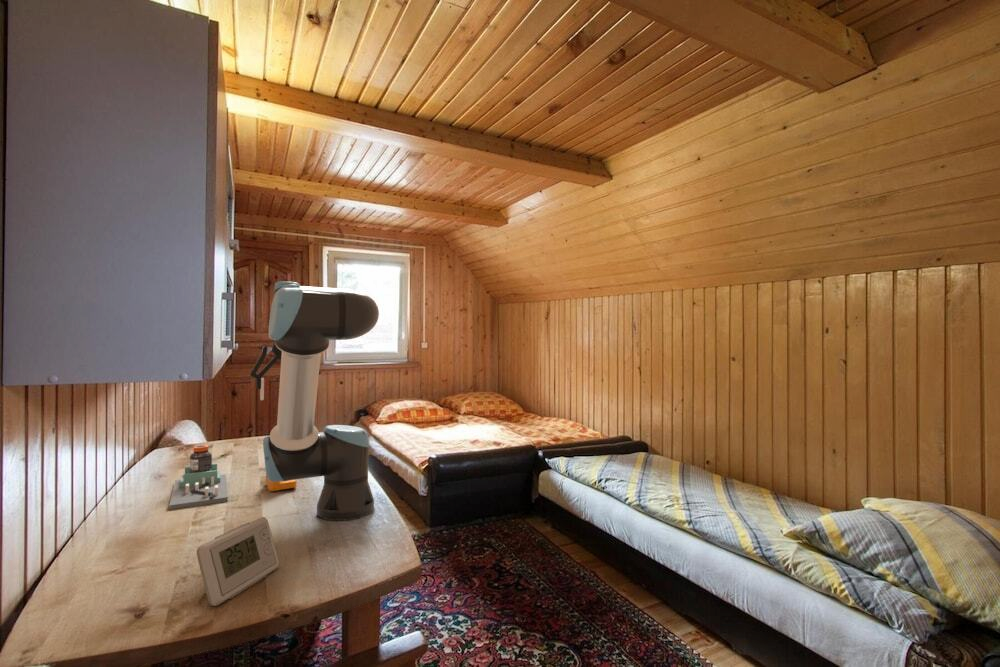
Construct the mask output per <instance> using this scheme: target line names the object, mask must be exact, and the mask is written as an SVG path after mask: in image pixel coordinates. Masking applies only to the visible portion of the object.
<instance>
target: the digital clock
mask: <svg viewBox="0 0 1000 667" xmlns="http://www.w3.org/2000/svg"><path fill="white" fill-rule="evenodd" d="M196 558H197V562H198V565H199V570H200V573H201V577H202V578H201V579H202V581H203V582H202V583H203V593H204V594H205V595H206V597H207V601H208V603H209V605H210V606H212V607H217V606H219V605H220V604H223V603H224V602H225V601H227V600H231V599H232V598H234V597H236V596H237V595H239V594H240V593H242V592H244V591H245V590H247V589H249V588H250V587H251V586H254V585H255V584H256V583H257V582H259V581H261V580H263V579H264V578H266V577H267V575H269V574H270V573H272V572H274V571H275V570H277V568H278V567H279V564H280V561H279V556H278V552H277V549H276V546H275V541H274V537H273V534H272V530H271V526H270V523H269V521H268V518H266V517H264V516H261V517H259V518H256V519H253V521H249V522H246V523H244V524H242V525H241V524H240V525H239V526H238V527H235V528H233V529H231V530H229V531H227V532H225V533H223V534H219V535H217V536H216V537H214V539H211V540H210V541H207V542H205V543H203V544H201V545H200V546H198V547H197V549H196Z"/></svg>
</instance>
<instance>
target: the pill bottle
mask: <svg viewBox="0 0 1000 667" xmlns="http://www.w3.org/2000/svg"><path fill="white" fill-rule="evenodd" d="M212 453H213V452H212V451H209V445H208V444H201V445H196V446H194V447H193V453H191V454H190V455H189V466H190V473H198V472H206V471H212V464H213V462H212V461H213V455H212Z"/></svg>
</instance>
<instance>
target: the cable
mask: <svg viewBox="0 0 1000 667" xmlns="http://www.w3.org/2000/svg"><path fill="white" fill-rule="evenodd" d="M207 485H209V482H208V483H205V484H202V485H200V486H199V489H201V488H203V487H205V486H207ZM191 493H197V494H203V495H205V491H200V490H195V488H194V489H192V490H191ZM208 495H209V496H210V500H211V499H213V493H212V492H208Z"/></svg>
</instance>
